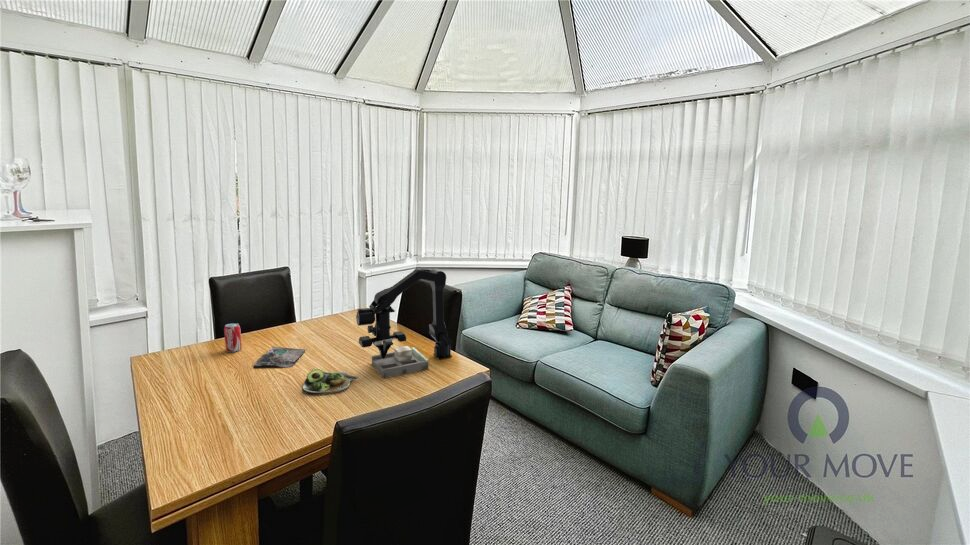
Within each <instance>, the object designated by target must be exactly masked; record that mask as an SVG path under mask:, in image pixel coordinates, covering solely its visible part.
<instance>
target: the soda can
mask: <svg viewBox="0 0 970 545" xmlns="http://www.w3.org/2000/svg"><path fill="white" fill-rule="evenodd" d="M241 333H242V332H241V326H240V324H239V323H238V322H237V323H234V322H231V323H227V324H225V325H224V328H223V334H224V344H225V346H224V347H225V351H226V352H228V353H231V352H232V353H237V352H236V351H238V352H240V351H241V350H242V349H243V346H242V345H243V344H242V334H241ZM239 350H240V351H239Z"/></svg>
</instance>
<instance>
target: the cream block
mask: <svg viewBox="0 0 970 545" xmlns="http://www.w3.org/2000/svg"><path fill="white" fill-rule="evenodd" d="M393 349H394V352H395V358H396V359H397V360H398V361H402V360H407V359H412V347H410V346H408V345H405V346H400V347H394V348H393Z"/></svg>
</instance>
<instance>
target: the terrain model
mask: <svg viewBox="0 0 970 545" xmlns="http://www.w3.org/2000/svg"><path fill="white" fill-rule="evenodd" d="M305 351H306V352H307V348H289V347H282V346H272V347H270V349H269V350H268V351H266V352H265V353H264V354H262V356H261V357H260V358H258V359H257V361H255V363H254V364H253V369H264V368H265V369H283V368H284V369H289V368H293V367H294V366H295V364H296V363H297V362H298V361H299V360H300V359H301V357H303V355H304V354H305V353H306V352H305ZM299 358H300V359H299Z"/></svg>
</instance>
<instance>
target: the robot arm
mask: <svg viewBox="0 0 970 545" xmlns="http://www.w3.org/2000/svg"><path fill="white" fill-rule="evenodd" d="M420 280H425V281H428V282H429V285H430V288H431V290H432V309H433V310H432V314H433V315H432V317H433V318H432V319H433V320H432V323H431V324H428V327H429V331H428V333H429V335H430V336H431V337H432V338H433V340H434V341H435V344H434V347H433V349H434V350H433V356H434V357H435V358H437V359H438V360H444V359H449V358H453V355H452V354H451V352H452V351H451V349H452V345H453V342H454V341H453V339H451V338H450V337H449V335H448V329H447V326H446V324H445V321H444V319H445V318H444V317H445V316H444V315H445V314H444V289H445V287H446V283H447V275H446V273H445V271H442V270H440V269H437V268H432V269H427V268H426V269H424V268H419V267H418V268H415V269H413V271H411V272H410V273H409V274H407V275H406V276H404V277H403V278H402V279H400V281H398V282H396V283H395V284H393V285H391V286H390V287H387V288H384V289H383V290H382V289H381V290H380V291H378V292H377V293H375V295H374V297H373V301H372V302H371V303H370V305H369V306H368V308H361V307H360V308H357V312H356V315H355V320H356V325H357V326H358V327H359V326H367V333H368V334H372V336H373V337H370V336H369V335H365V336H359V338H358V344H359V345H360V346H361V348H369V347H371V346H372V345H373V346H375V347H376V348H377V349H378V351H379V354H381V357H382V359H384V358H385V356H386V354H387V353H389V352H388V351H389V350H390V348H391V347H392V346H393V345H394V342H393V340H397V341H398V342H399V343H402V342H406V341H407V334H406V333H405V332H403V330H399V331H393V333H392V334H391V329H392V327H391V320H390V319H391V313H395V312H396V310H395V309H394V308H392V306H391V305H392V304H394V302H395V301H396V299H397V298H398V296H400V295H401V294H402V293H403V292H406V291H407V290H408V289H409V288H410V287H411V286H413V285H415V284H416V283H417V282H419V281H420ZM373 324H374V325H373Z"/></svg>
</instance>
